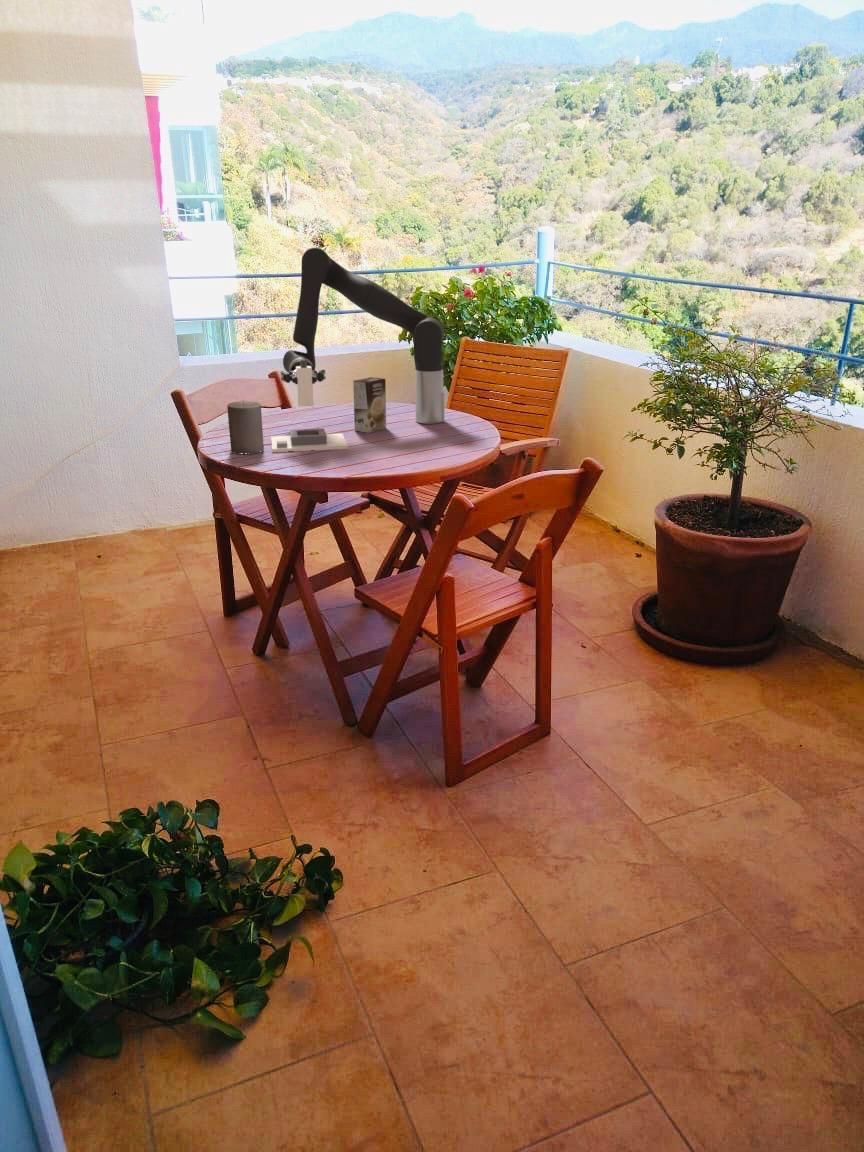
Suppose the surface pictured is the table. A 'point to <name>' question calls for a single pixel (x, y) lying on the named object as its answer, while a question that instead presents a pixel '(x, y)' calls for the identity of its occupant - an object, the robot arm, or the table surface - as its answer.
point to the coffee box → (369, 404)
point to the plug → (304, 384)
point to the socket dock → (329, 446)
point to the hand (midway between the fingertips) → (304, 380)
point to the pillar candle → (245, 427)
